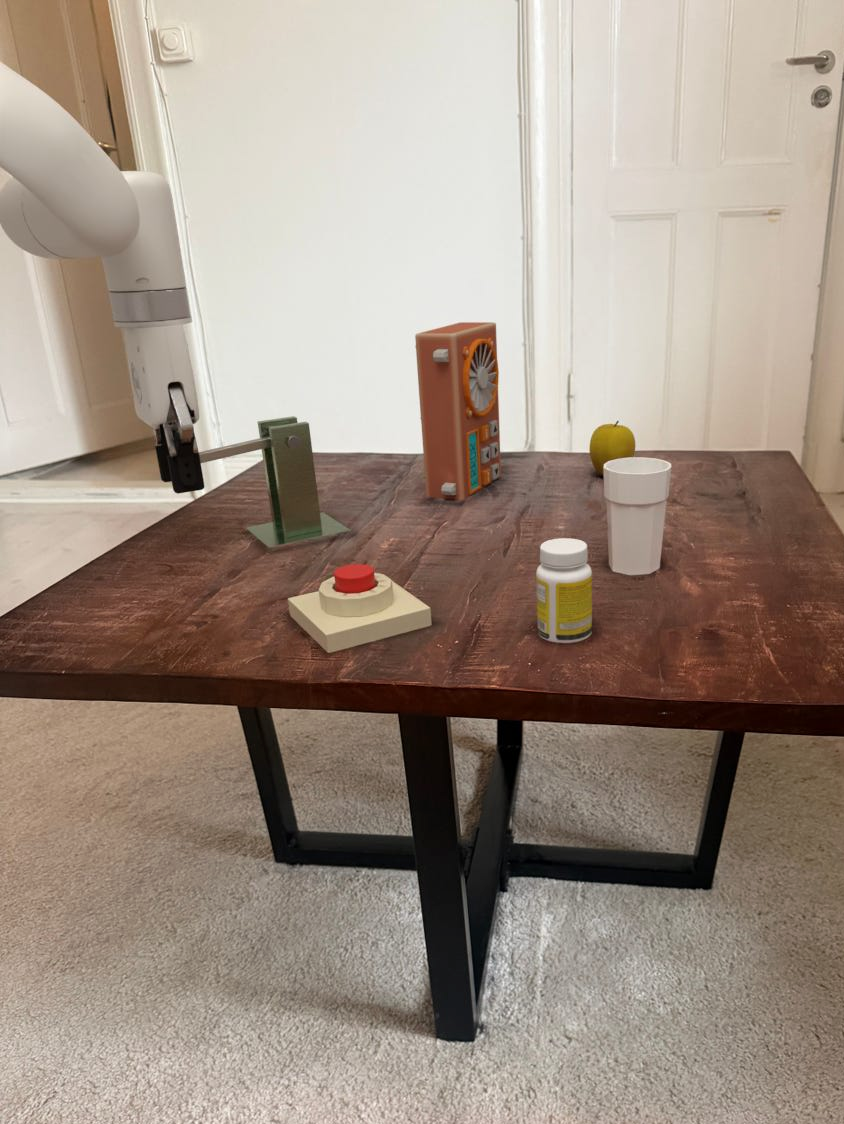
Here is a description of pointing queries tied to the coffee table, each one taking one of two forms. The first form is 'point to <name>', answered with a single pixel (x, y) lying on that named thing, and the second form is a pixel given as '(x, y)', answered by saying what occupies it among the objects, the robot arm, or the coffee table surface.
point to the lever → (234, 449)
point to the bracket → (291, 486)
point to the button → (354, 579)
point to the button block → (358, 614)
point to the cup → (636, 512)
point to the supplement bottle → (564, 591)
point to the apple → (610, 445)
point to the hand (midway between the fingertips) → (182, 483)
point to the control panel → (459, 408)
